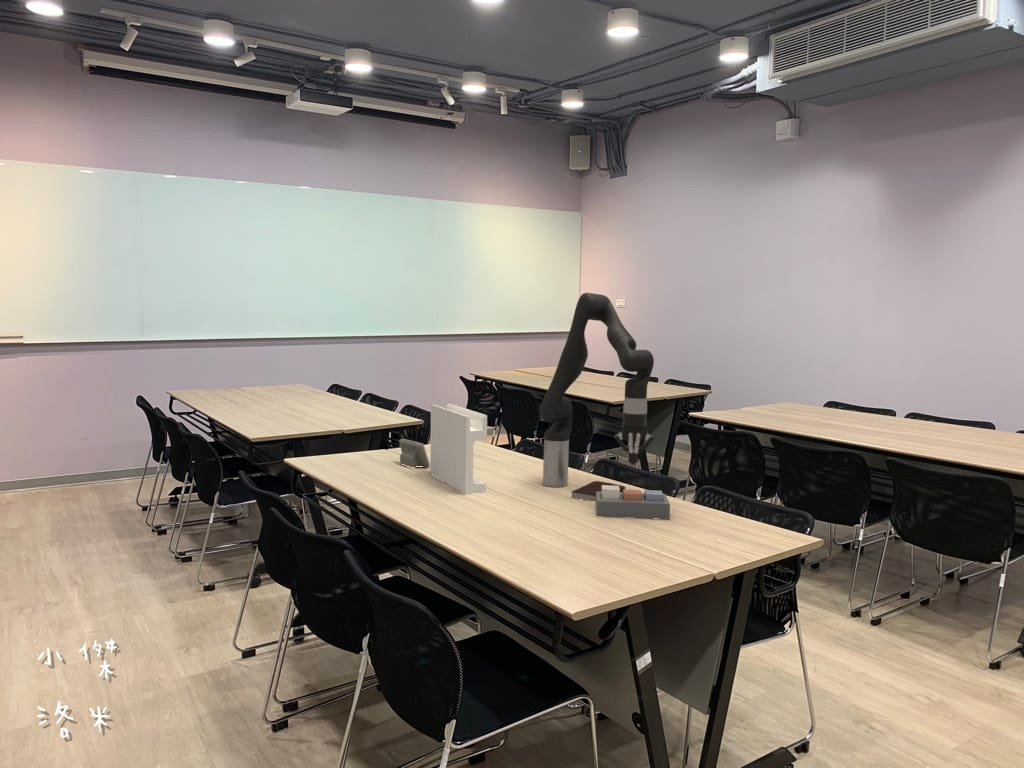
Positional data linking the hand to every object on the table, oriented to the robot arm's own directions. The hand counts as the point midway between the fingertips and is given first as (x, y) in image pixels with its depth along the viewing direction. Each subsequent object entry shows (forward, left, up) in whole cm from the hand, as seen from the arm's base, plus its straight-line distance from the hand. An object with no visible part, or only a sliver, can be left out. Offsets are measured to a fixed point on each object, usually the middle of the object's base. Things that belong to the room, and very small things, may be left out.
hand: (632, 464), depth 239 cm
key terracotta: (0, 0, -14) cm, 14 cm away
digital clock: (-86, +59, -16) cm, 105 cm away
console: (0, 0, -16) cm, 16 cm away
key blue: (+7, 0, -14) cm, 15 cm away
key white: (-7, 0, -12) cm, 14 cm away
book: (-10, +21, -17) cm, 29 cm away
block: (-63, +31, -16) cm, 72 cm away
